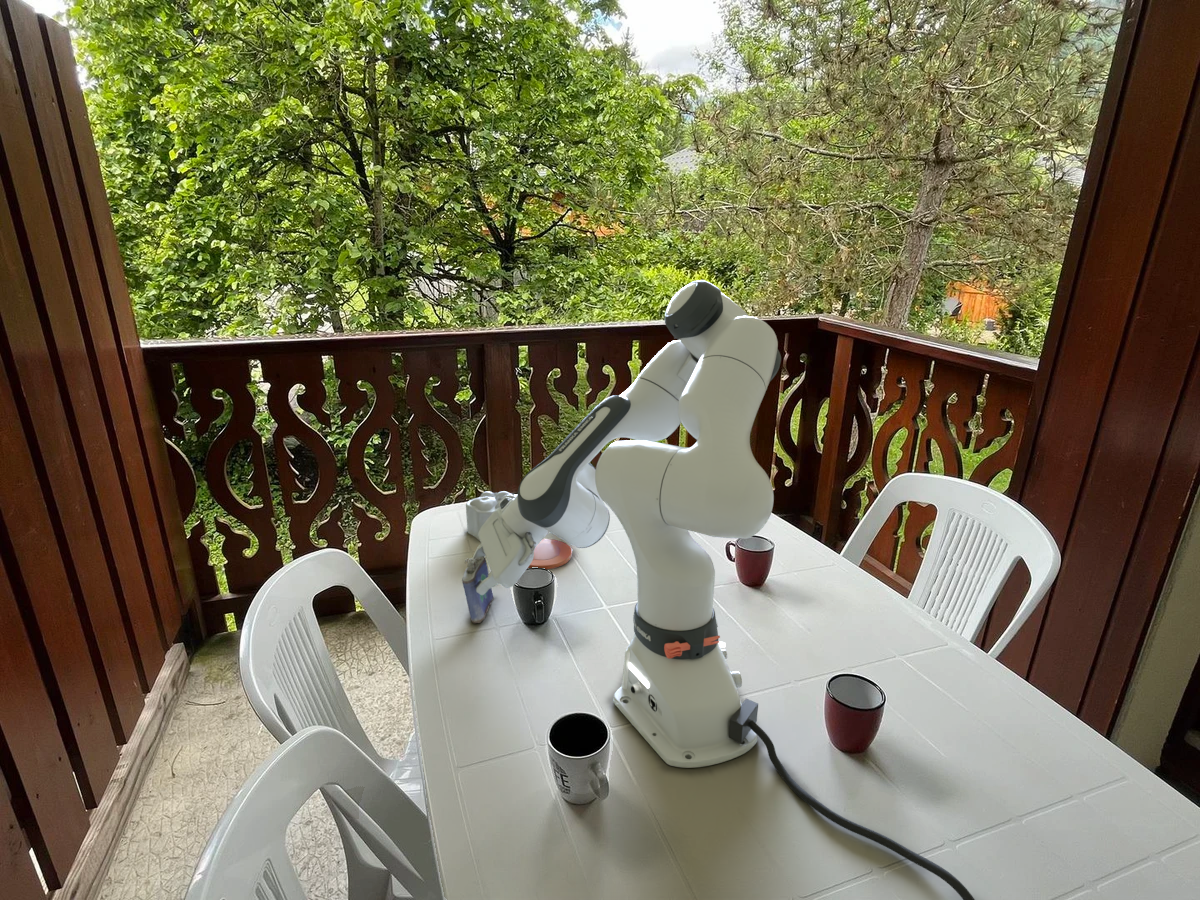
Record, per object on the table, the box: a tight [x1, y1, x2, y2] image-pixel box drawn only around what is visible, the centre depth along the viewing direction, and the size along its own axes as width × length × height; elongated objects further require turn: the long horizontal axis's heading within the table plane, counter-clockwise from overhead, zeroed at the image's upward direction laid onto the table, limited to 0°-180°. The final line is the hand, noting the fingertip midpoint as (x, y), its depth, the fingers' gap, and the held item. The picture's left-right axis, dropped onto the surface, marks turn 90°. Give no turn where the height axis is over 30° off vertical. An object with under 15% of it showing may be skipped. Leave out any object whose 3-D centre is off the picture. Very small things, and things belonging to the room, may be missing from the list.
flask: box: [461, 556, 495, 625], centre depth 117 cm, size 9×3×11 cm, turn 173°
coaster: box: [527, 538, 573, 570], centre depth 140 cm, size 13×13×1 cm
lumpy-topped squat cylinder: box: [465, 490, 518, 541], centre depth 152 cm, size 10×13×9 cm
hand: (474, 578), depth 117 cm, fingers closed on flask, 8 cm apart
